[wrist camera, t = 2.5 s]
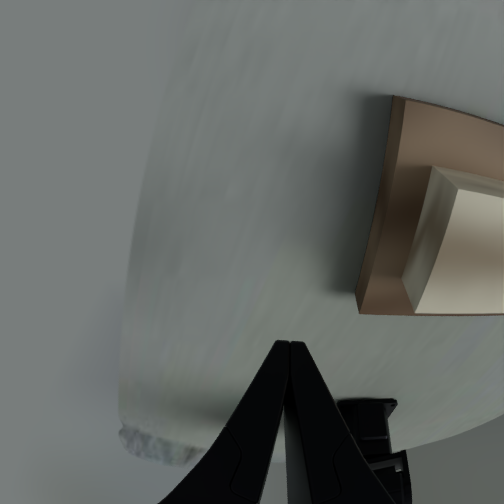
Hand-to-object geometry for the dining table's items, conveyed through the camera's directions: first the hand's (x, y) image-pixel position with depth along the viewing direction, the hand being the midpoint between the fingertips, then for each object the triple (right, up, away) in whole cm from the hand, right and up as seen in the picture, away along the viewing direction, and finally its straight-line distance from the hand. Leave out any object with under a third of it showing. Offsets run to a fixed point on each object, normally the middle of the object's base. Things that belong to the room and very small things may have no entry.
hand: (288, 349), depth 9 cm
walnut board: (+12, +5, +8) cm, 15 cm away
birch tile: (+12, +4, +6) cm, 14 cm away
